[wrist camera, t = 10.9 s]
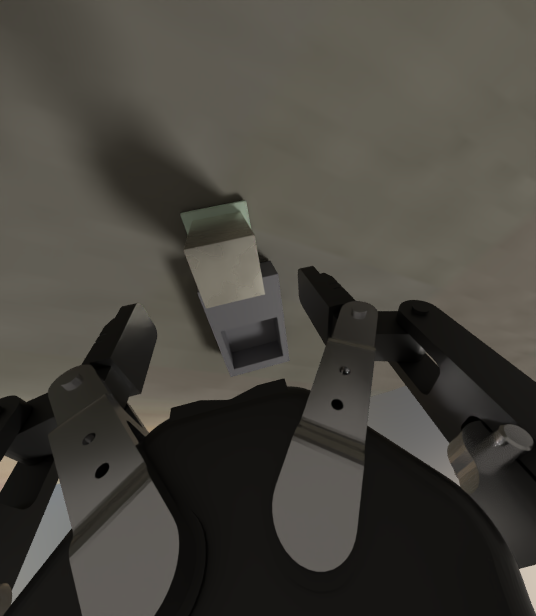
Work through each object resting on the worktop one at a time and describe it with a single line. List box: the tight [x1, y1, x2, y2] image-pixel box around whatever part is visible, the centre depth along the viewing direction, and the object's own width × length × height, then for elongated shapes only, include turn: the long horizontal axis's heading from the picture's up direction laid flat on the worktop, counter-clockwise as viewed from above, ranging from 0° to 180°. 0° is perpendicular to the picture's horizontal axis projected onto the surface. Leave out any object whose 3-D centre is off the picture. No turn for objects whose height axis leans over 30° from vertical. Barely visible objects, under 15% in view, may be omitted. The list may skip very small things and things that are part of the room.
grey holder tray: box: [197, 261, 290, 377], centre depth 26 cm, size 13×8×4 cm, turn 8°
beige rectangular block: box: [184, 211, 265, 308], centre depth 18 cm, size 4×4×8 cm
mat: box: [180, 200, 251, 235], centre depth 22 cm, size 6×6×1 cm
